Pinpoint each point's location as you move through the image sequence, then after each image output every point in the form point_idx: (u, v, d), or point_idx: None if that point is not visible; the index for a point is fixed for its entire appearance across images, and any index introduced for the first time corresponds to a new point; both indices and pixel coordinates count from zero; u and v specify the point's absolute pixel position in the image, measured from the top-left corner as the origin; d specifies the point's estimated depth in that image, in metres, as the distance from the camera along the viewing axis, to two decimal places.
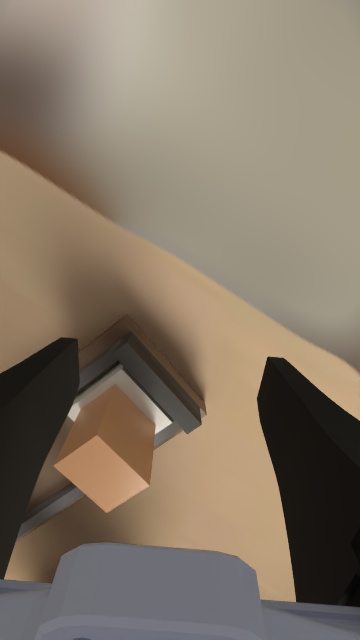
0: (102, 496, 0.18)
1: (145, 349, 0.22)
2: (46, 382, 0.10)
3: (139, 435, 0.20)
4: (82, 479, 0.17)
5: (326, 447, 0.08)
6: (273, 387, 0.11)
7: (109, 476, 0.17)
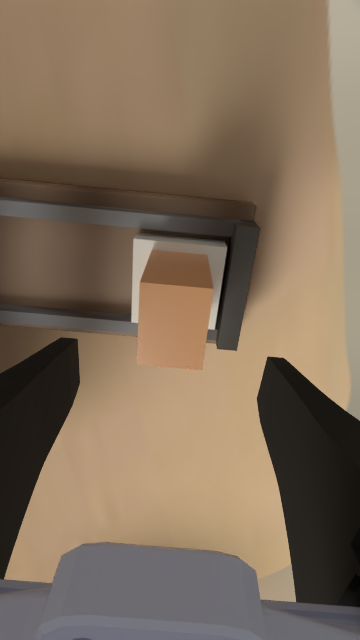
0: (150, 347, 0.15)
1: None
2: (46, 382, 0.10)
3: None
4: (151, 317, 0.14)
5: (326, 447, 0.08)
6: (273, 387, 0.11)
7: (178, 334, 0.15)
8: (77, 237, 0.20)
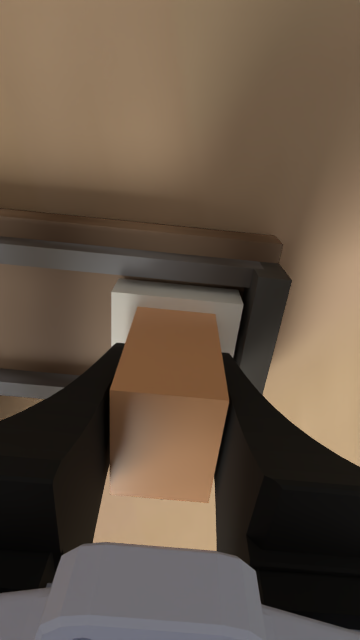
0: (130, 474, 0.10)
1: None
2: None
3: None
4: (130, 437, 0.09)
5: (239, 440, 0.08)
6: None
7: (172, 459, 0.09)
8: (38, 282, 0.14)
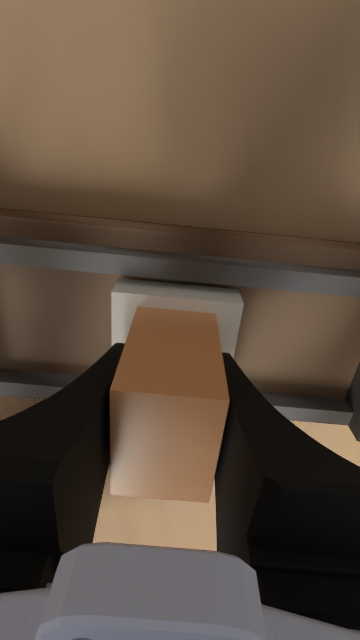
0: (130, 474, 0.10)
1: None
2: None
3: None
4: (130, 437, 0.09)
5: (239, 440, 0.08)
6: None
7: (172, 459, 0.09)
8: None
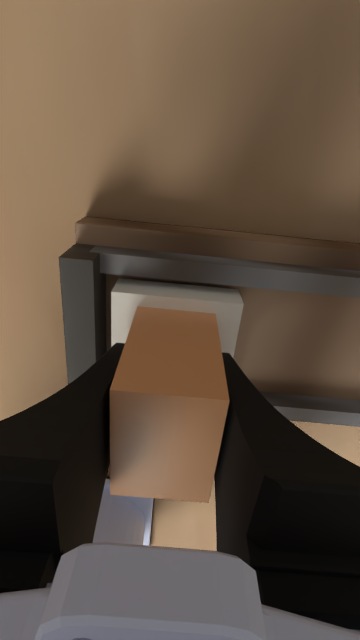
0: (130, 474, 0.10)
1: None
2: None
3: None
4: (130, 437, 0.09)
5: (239, 440, 0.08)
6: None
7: (172, 459, 0.09)
8: (307, 308, 0.15)
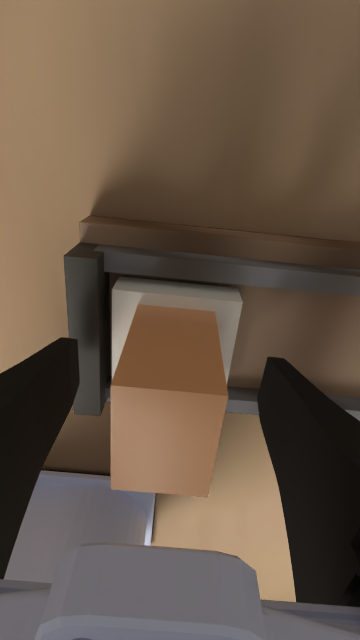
0: (131, 469, 0.10)
1: None
2: (46, 382, 0.10)
3: None
4: (130, 432, 0.09)
5: (326, 447, 0.08)
6: (273, 387, 0.11)
7: (172, 454, 0.10)
8: (308, 306, 0.15)
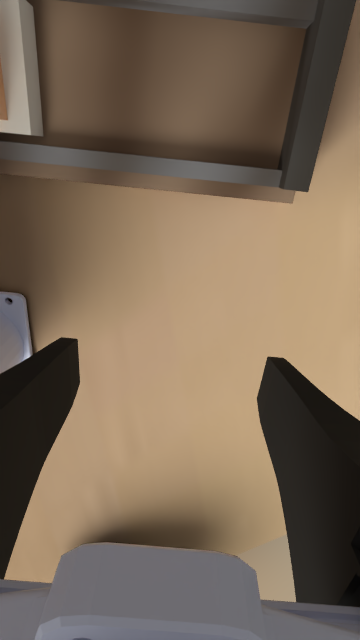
0: None
1: None
2: (46, 382, 0.10)
3: None
4: None
5: (326, 447, 0.08)
6: (273, 387, 0.11)
7: None
8: (109, 37, 0.15)
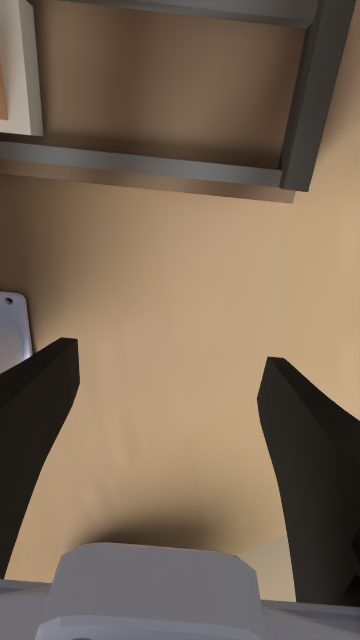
0: None
1: None
2: (46, 382, 0.10)
3: None
4: None
5: (326, 447, 0.08)
6: (273, 387, 0.11)
7: None
8: (109, 37, 0.15)
